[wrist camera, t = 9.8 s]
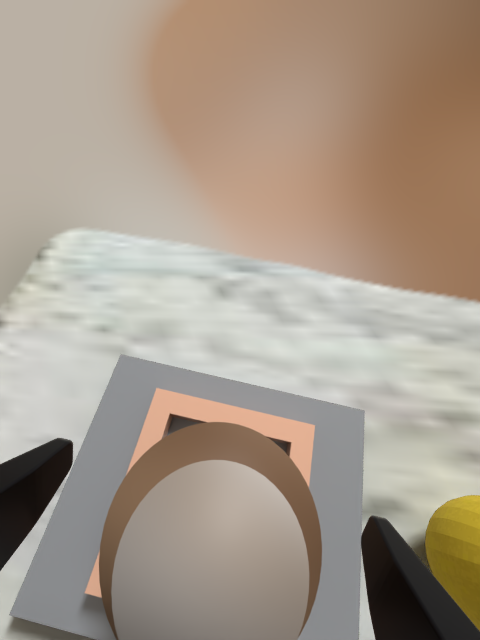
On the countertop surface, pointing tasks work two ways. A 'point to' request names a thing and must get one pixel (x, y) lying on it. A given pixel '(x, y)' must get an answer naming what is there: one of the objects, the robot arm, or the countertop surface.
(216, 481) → the pepper mill
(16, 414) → the countertop surface
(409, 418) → the countertop surface
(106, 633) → the display stand
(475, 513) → the lemon
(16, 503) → the robot arm
